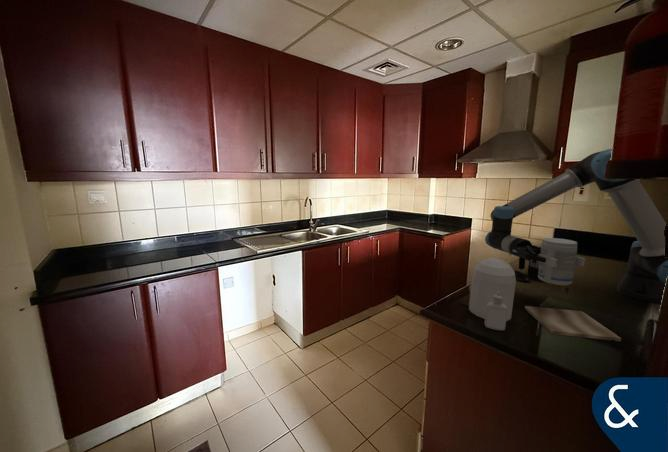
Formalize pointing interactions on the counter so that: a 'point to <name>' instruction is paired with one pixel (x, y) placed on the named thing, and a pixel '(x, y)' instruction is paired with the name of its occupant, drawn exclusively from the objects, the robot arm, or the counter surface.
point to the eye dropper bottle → (496, 313)
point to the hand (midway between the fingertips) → (569, 263)
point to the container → (491, 285)
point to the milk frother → (531, 271)
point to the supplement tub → (558, 261)
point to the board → (571, 323)
